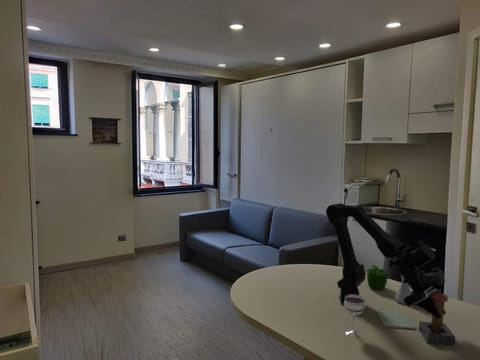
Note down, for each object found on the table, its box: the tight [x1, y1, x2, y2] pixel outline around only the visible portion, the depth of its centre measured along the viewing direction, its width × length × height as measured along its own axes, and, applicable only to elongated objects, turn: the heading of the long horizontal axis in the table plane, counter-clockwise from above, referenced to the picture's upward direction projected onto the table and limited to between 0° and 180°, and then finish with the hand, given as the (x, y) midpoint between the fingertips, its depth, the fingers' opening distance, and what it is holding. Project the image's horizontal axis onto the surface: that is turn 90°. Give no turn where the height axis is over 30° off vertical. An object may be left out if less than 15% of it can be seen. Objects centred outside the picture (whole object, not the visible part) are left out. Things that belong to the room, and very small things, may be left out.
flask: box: [394, 275, 412, 305], centre depth 142 cm, size 7×7×10 cm
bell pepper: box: [366, 264, 389, 291], centre depth 154 cm, size 8×8×10 cm
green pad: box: [377, 310, 416, 330], centre depth 128 cm, size 10×10×1 cm
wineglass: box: [343, 294, 366, 338], centre depth 119 cm, size 7×7×12 cm
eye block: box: [418, 320, 456, 346], centre depth 117 cm, size 8×8×3 cm
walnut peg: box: [430, 292, 449, 333], centre depth 117 cm, size 5×5×13 cm
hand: (442, 316), depth 115 cm, fingers closed on walnut peg, 3 cm apart
